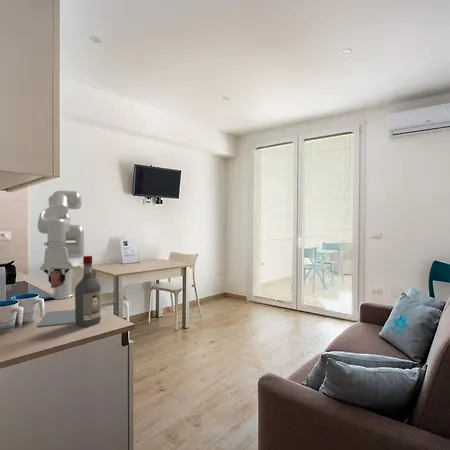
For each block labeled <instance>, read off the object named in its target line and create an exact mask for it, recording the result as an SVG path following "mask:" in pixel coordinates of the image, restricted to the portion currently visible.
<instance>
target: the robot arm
mask: <svg viewBox="0 0 450 450" xmlns="http://www.w3.org/2000/svg"><path fill="white" fill-rule="evenodd" d="M81 207H82V197H81V194H80V193H79V192H78V191H75V190H56V191H55V192H53V193H52V195H50V196H49V197H48V207H46V208H45V209H44V210H42V211H41V212H40V213H39V215H38V222H37V230H38V232H39V233H40V234H43V235H44V234H47V241H46V242H44V243H43V245H44V246H46V248H45V250H44V257H43V263H42V265H41V266H40V268H39V271H40V270H41V271H42V272H44V273H45V274H47V276H48V283H49V284H50V285H51V274H50V272H51V271H54V269H61V270H62V275H61V283H65V285H63V286H60V287H56V288H52V289H53V290H52V291H53V293H52V294H50V296H49V297H52V298H54V300H64V299H69V298H72V297H75V292H73V291H72V269H73V268H74V266H73V264H72V263H71V262H70V260H71V259H82V258H83V256H85V233H84V227H83V226H81V225H80V224H71V217H70V215H69V214H68V212H69V210H80V208H81ZM71 241H72V242H71ZM52 267H53V268H54V269H52ZM71 296H72V297H71ZM52 298H51V299H52Z"/></svg>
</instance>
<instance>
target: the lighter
mask: <svg viewBox="0 0 450 450" xmlns="http://www.w3.org/2000/svg"><path fill="white" fill-rule="evenodd" d="M53 269H54V268H53V267H52V271H51V272H50V274H51V284H50V288H51V289H53V288H56V287H60V286H63V285H65V283H61V275H62V270H61V269H54V271H53Z"/></svg>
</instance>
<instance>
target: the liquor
mask: <svg viewBox="0 0 450 450" xmlns="http://www.w3.org/2000/svg"><path fill="white" fill-rule="evenodd" d="M82 258H83V259H82V260H83V261H82V262H83V263H82V264H83V276H82V279H81V280H80V281H78V283H77V285H76V286H75V288H74V305H75V306H74V308H75V309H74V310H75V322H74V324H75V325H76V326H79V327H83V328H85V327H92V326H94V325H97V324H100V322H101V320H102V317H101V316H102V315H101V313H102V311H101V310H102V304H101V303H102V301H101V296H102V295H101V294H102V293H101V291H102V290H101V287H102V286H101V285H100V283H99V282H98V281H97V280H96V279H95V278H94V275H93V256H92V255H83V257H82Z"/></svg>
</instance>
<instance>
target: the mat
mask: <svg viewBox="0 0 450 450" xmlns="http://www.w3.org/2000/svg"><path fill="white" fill-rule="evenodd" d="M72 324H75V309H67V310H54V311H47V312H46V313H45V315H44V316H43V318H42V319H41V320H40V322H39V323H38V325H37V327H38V328H43V327H54V326H63V325H72Z"/></svg>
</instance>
